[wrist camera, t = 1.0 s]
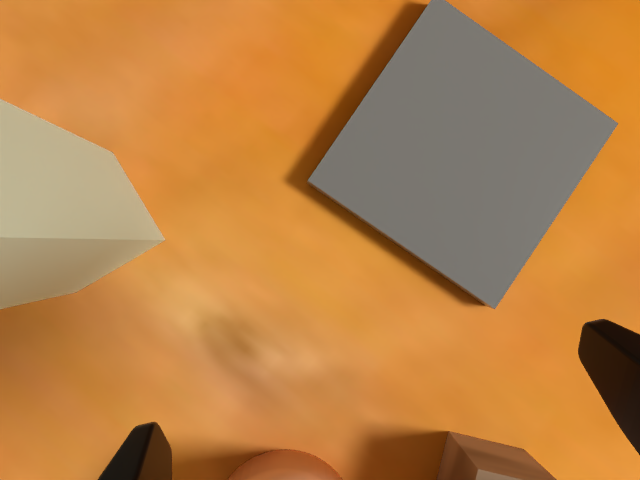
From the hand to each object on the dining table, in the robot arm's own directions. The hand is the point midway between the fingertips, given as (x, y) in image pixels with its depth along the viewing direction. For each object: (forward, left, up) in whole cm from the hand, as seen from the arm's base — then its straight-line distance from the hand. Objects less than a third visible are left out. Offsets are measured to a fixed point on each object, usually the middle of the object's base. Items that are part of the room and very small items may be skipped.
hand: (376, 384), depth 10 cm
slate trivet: (+10, -1, -14) cm, 17 cm away
